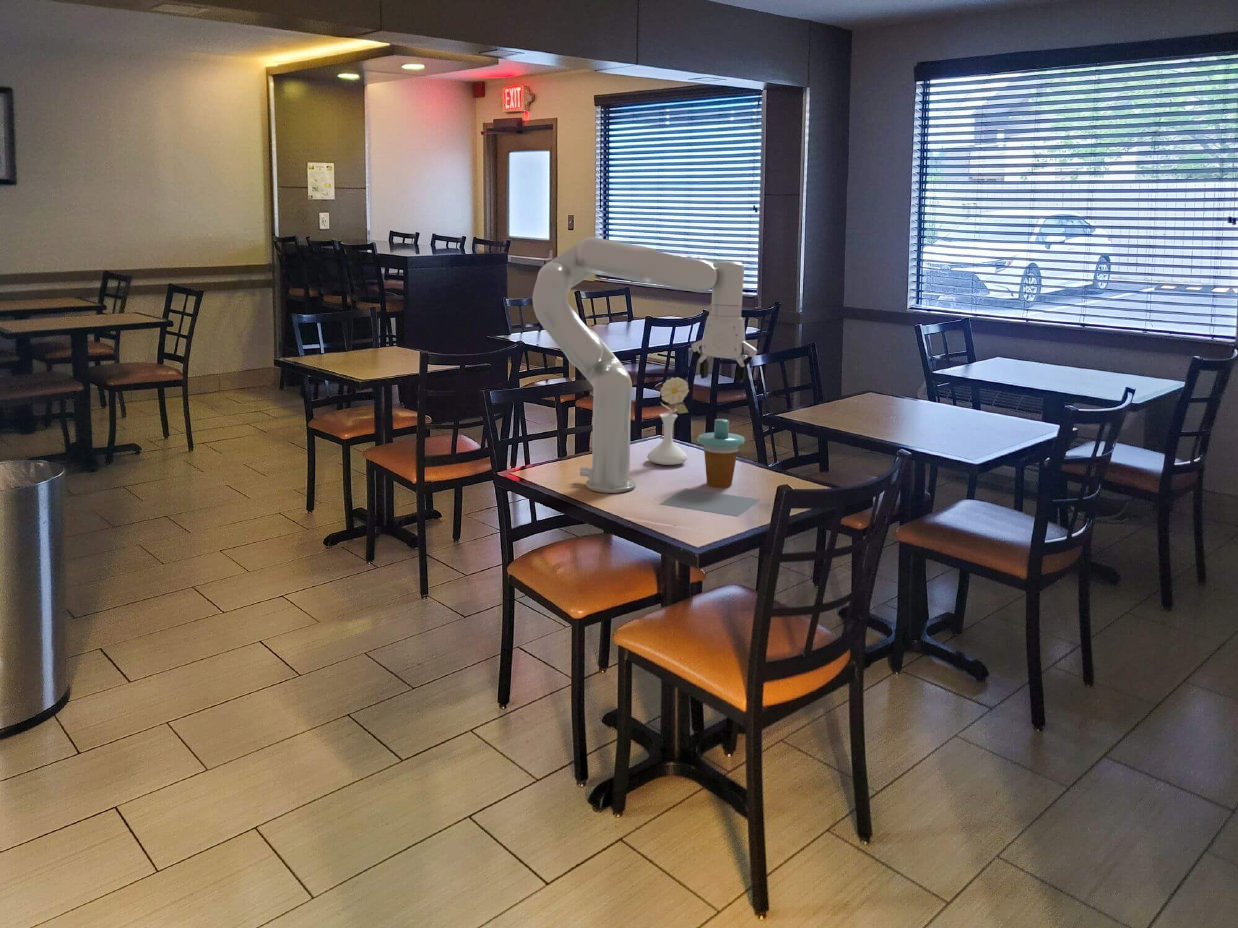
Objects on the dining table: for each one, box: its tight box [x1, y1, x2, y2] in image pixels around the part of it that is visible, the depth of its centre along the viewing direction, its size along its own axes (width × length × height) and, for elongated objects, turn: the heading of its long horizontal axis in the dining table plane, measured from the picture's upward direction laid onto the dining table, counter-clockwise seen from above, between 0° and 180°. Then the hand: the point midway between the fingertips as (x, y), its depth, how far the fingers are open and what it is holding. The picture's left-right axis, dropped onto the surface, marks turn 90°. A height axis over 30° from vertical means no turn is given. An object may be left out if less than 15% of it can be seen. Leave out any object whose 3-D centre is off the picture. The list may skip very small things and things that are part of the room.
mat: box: [659, 487, 761, 518], centre depth 242 cm, size 20×16×1 cm
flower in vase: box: [646, 376, 690, 466], centre depth 277 cm, size 13×11×25 cm
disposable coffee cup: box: [702, 444, 740, 489], centre depth 256 cm, size 10×10×12 cm
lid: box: [697, 418, 746, 447], centre depth 254 cm, size 12×12×6 cm
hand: (722, 379), depth 251 cm, fingers open, 9 cm apart
